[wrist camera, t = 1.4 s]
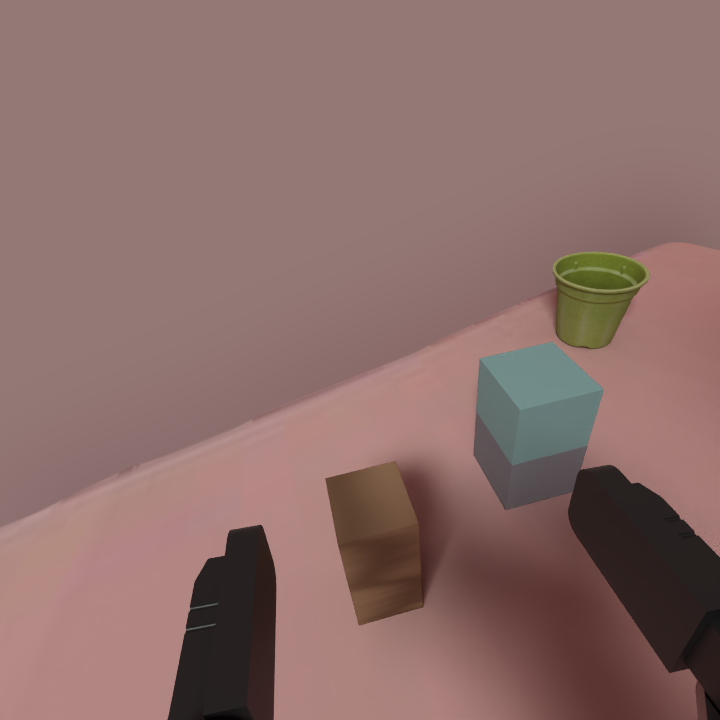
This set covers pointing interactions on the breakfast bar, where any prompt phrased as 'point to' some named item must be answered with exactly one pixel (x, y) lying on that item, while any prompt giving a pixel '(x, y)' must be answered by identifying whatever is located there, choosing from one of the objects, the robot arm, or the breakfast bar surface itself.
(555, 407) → the tower top
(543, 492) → the tower base
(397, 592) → the walnut pillar
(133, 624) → the breakfast bar surface
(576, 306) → the plant pot
